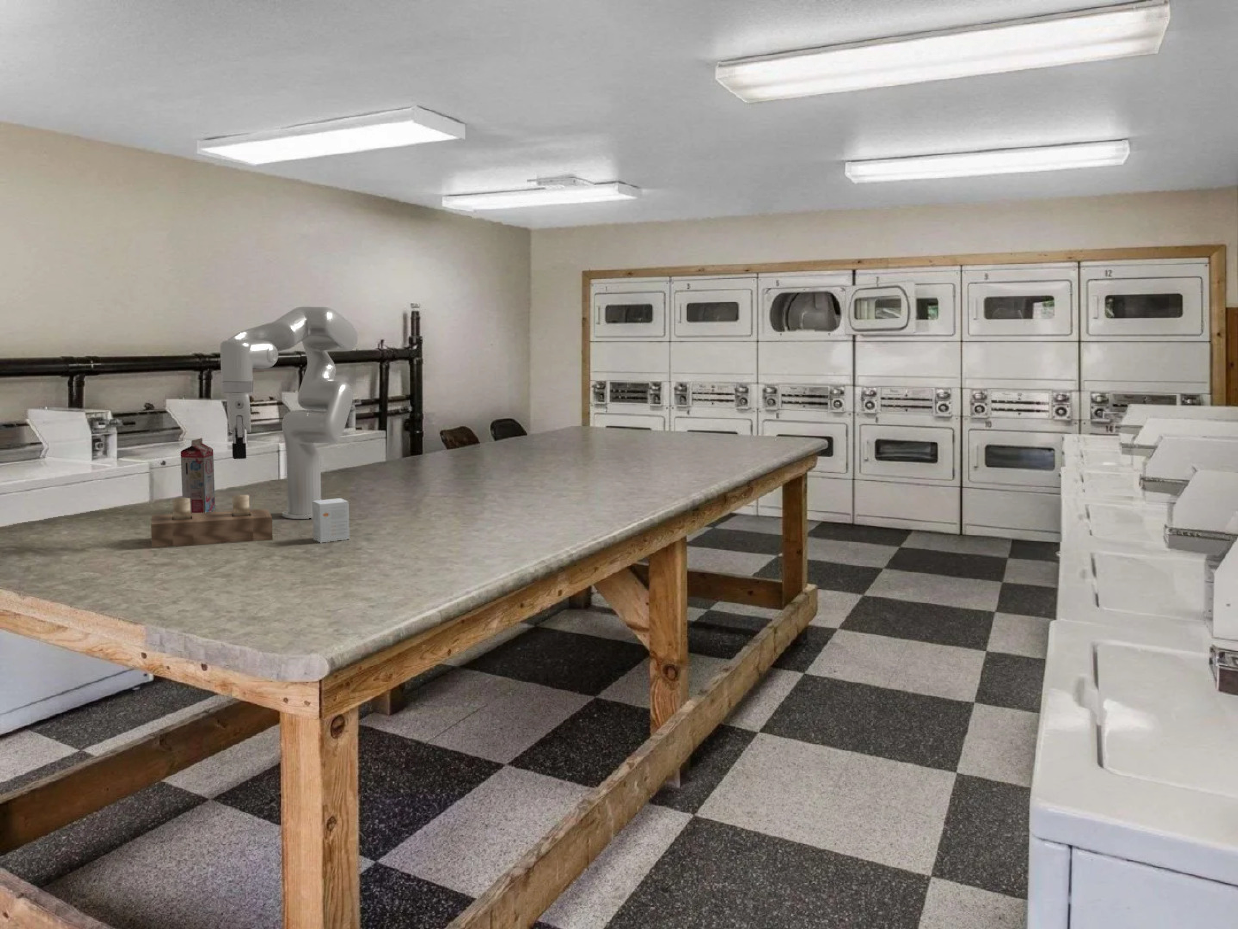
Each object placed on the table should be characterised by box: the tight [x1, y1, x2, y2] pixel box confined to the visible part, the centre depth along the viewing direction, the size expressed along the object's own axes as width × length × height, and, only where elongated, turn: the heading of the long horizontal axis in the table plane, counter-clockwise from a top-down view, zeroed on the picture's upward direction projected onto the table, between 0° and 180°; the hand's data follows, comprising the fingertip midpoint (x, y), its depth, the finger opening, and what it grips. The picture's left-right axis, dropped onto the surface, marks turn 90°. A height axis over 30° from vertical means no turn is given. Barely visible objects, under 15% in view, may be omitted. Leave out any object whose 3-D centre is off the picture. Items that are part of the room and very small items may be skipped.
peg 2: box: [231, 494, 250, 517], centre depth 230 cm, size 4×4×6 cm
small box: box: [311, 497, 350, 544], centre depth 230 cm, size 8×6×10 cm
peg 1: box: [172, 497, 191, 520], centre depth 223 cm, size 4×4×6 cm
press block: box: [150, 508, 274, 549], centre depth 227 cm, size 28×12×6 cm, turn 117°
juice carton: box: [180, 437, 216, 513], centre depth 260 cm, size 7×7×22 cm
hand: (239, 458), depth 228 cm, fingers closed
